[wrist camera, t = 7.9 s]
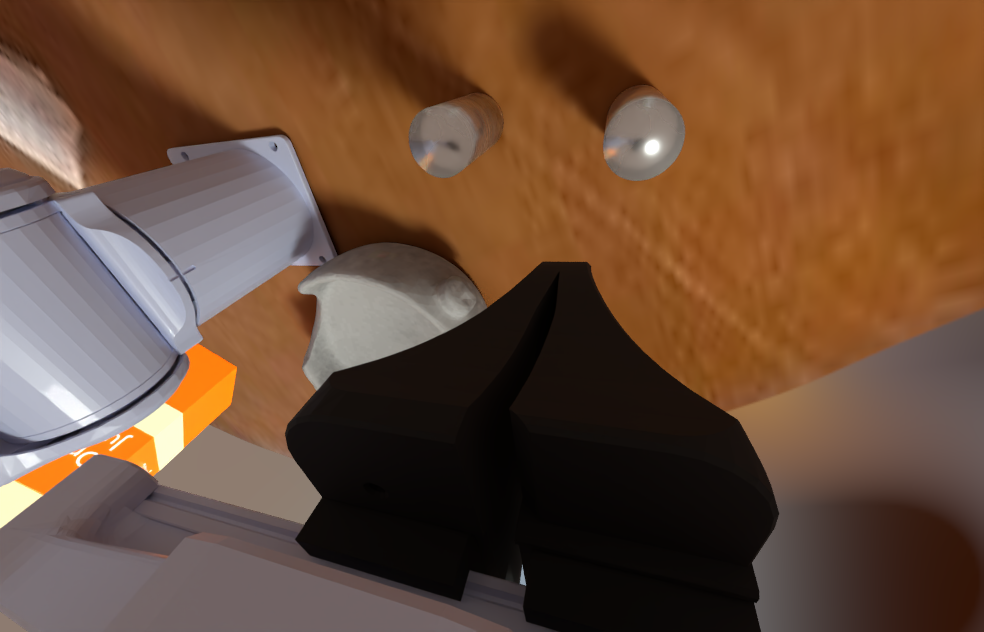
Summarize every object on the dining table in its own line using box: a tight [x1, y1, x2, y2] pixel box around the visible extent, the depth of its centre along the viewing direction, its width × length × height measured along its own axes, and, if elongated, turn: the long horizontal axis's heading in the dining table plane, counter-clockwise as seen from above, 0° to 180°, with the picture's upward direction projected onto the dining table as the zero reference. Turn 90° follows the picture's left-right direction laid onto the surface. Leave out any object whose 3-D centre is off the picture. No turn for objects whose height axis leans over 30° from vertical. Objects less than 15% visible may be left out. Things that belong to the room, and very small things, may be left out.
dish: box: [298, 242, 487, 390], centre depth 24 cm, size 14×14×5 cm
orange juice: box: [0, 344, 237, 528], centre depth 31 cm, size 8×9×20 cm
